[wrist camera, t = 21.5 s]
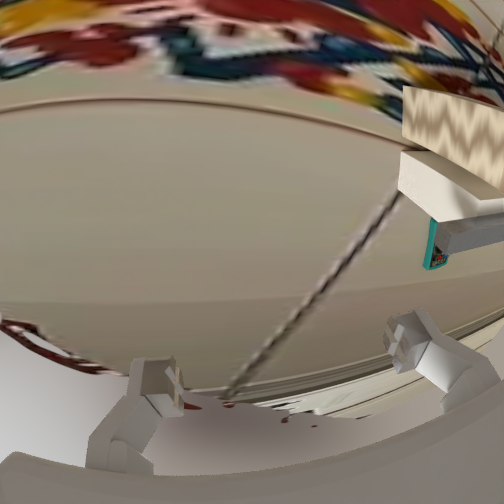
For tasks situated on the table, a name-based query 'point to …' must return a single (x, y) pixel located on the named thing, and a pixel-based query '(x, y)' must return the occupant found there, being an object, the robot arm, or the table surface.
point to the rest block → (446, 187)
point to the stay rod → (469, 233)
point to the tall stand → (457, 130)
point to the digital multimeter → (433, 250)
